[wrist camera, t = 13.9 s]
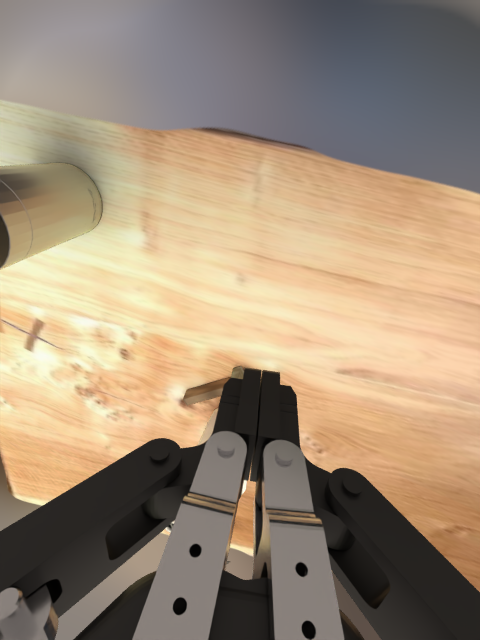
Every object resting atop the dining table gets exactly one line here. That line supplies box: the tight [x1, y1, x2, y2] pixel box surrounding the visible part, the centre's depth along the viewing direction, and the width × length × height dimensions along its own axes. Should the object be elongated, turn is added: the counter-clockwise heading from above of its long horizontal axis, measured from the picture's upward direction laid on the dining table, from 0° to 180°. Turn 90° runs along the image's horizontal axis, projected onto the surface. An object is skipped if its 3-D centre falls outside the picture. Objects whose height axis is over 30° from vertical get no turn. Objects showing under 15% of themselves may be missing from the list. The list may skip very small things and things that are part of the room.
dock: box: [183, 366, 244, 405], centre depth 57 cm, size 12×20×5 cm, turn 24°
